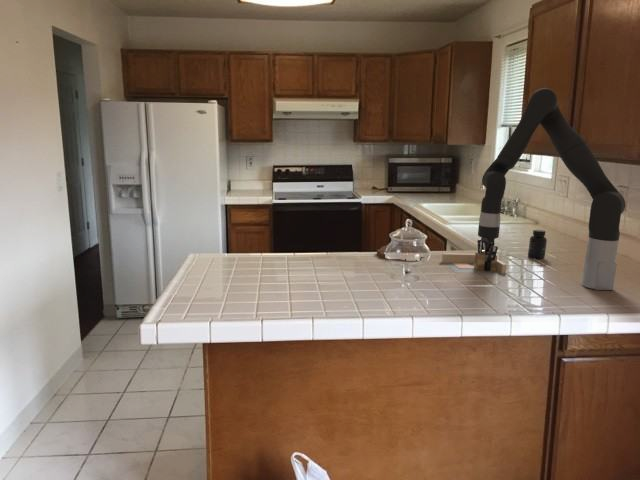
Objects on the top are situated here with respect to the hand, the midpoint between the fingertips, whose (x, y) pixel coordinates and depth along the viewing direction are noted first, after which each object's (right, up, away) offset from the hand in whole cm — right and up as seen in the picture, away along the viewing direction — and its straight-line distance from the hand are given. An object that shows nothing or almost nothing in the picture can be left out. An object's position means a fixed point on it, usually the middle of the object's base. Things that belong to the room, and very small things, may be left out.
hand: (484, 268), depth 198 cm
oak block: (0, 0, 0) cm, 0 cm away
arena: (-4, 0, +4) cm, 5 cm away
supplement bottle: (+30, +3, +26) cm, 40 cm away
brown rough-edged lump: (-29, +4, +22) cm, 36 cm away
